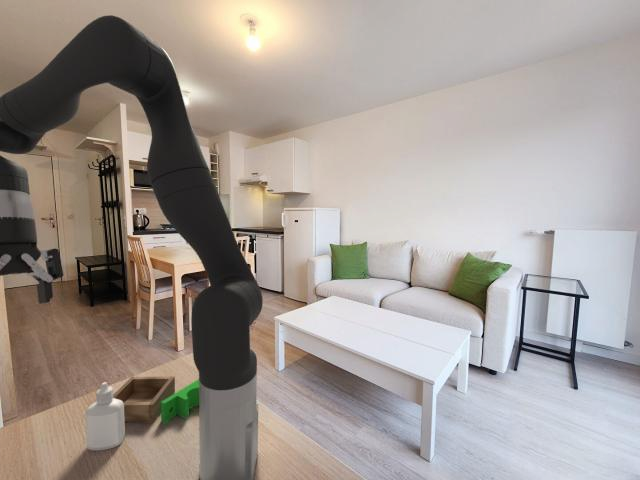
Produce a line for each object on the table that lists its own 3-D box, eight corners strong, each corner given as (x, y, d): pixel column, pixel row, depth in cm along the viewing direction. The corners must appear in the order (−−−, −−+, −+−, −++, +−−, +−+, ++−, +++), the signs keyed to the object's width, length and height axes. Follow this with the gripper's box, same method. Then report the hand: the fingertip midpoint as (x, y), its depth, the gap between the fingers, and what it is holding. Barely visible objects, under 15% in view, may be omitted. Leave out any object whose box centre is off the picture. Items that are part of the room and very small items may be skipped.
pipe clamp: (172, 429, 57) (172, 408, 56) (161, 422, 58) (160, 402, 58) (216, 397, 67) (215, 379, 66) (205, 392, 68) (204, 374, 68)
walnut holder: (174, 391, 68) (174, 376, 67) (153, 422, 58) (153, 404, 57) (132, 392, 67) (131, 376, 66) (102, 423, 57) (102, 405, 57)
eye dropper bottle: (105, 457, 49) (103, 393, 48) (83, 448, 51) (80, 387, 50) (128, 438, 54) (127, 379, 52) (107, 431, 55) (105, 373, 54)
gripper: (-45, 212, 42) (-34, 318, 42) (65, 217, 56) (74, 298, 55) (-71, 220, 44) (-61, 321, 44) (41, 224, 58) (50, 301, 57)
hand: (15, 308), depth 50 cm, fingers open, 8 cm apart
